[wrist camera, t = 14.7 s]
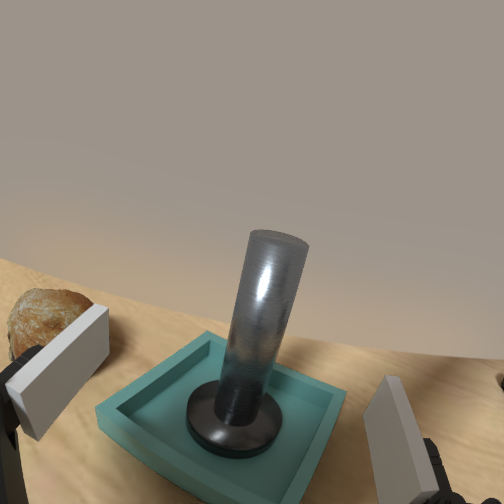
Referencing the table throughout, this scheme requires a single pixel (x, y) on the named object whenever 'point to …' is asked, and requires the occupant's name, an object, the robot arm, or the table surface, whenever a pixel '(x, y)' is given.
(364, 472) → the table surface
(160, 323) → the table surface
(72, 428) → the table surface
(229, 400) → the joystick
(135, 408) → the tray
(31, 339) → the bread roll
